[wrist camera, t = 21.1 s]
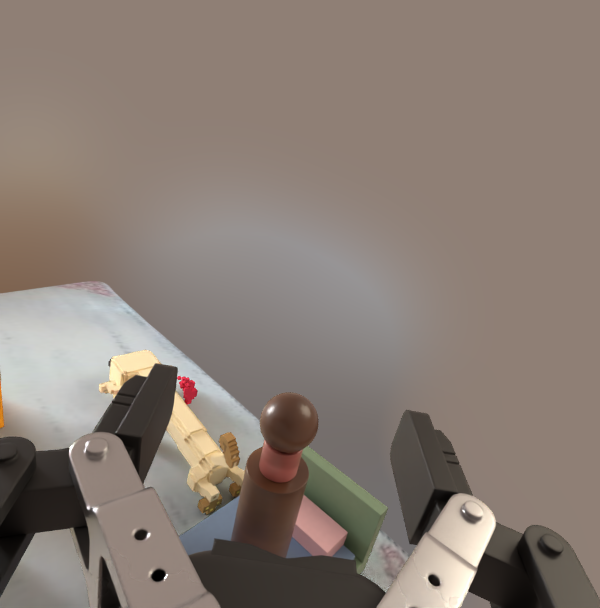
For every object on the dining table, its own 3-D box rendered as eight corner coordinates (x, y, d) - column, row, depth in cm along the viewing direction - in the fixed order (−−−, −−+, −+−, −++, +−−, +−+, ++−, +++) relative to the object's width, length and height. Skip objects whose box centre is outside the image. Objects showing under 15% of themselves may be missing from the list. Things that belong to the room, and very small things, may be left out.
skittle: (215, 556, 36) (246, 392, 30) (256, 525, 40) (292, 371, 33) (254, 600, 34) (297, 431, 27) (294, 562, 37) (342, 404, 31)
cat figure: (262, 491, 49) (155, 359, 64) (281, 432, 45) (163, 306, 60) (179, 536, 42) (81, 377, 57) (193, 472, 38) (84, 319, 53)
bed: (107, 606, 35) (110, 534, 31) (272, 488, 48) (286, 429, 45) (205, 753, 28) (222, 682, 25) (364, 569, 42) (388, 507, 39)
